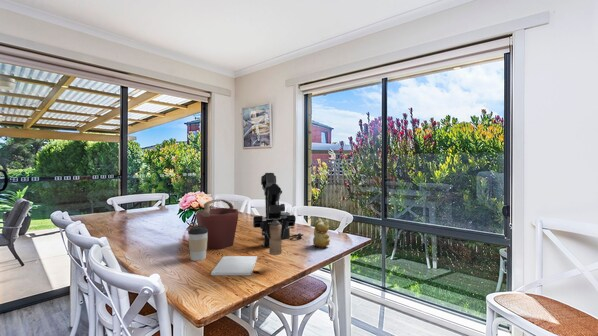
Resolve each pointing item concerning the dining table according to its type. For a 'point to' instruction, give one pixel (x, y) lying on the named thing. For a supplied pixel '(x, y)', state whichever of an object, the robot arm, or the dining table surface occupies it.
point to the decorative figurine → (321, 234)
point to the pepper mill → (275, 238)
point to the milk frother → (287, 230)
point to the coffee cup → (198, 242)
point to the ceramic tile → (235, 265)
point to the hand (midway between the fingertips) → (275, 238)
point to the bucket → (218, 224)
